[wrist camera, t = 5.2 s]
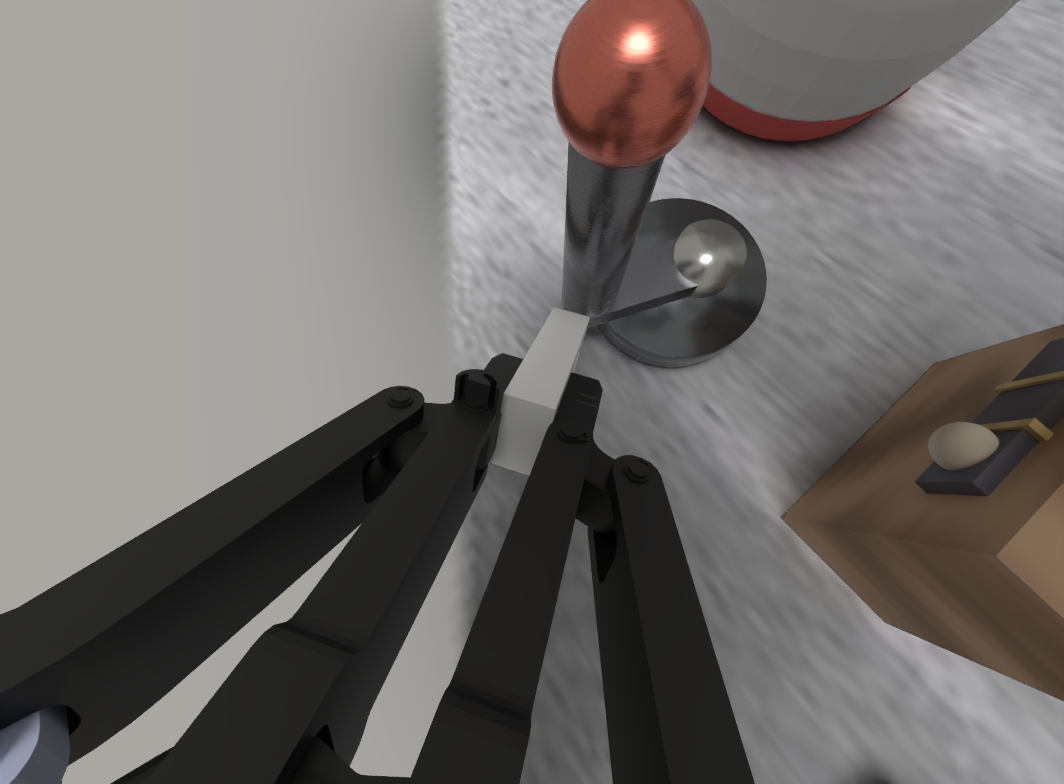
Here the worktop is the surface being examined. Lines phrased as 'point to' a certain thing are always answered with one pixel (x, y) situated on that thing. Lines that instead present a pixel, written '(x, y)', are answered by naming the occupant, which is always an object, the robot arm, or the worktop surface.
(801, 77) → the citrus juicer
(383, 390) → the robot arm
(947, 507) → the walnut stand
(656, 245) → the lever with red knob
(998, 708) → the worktop surface
